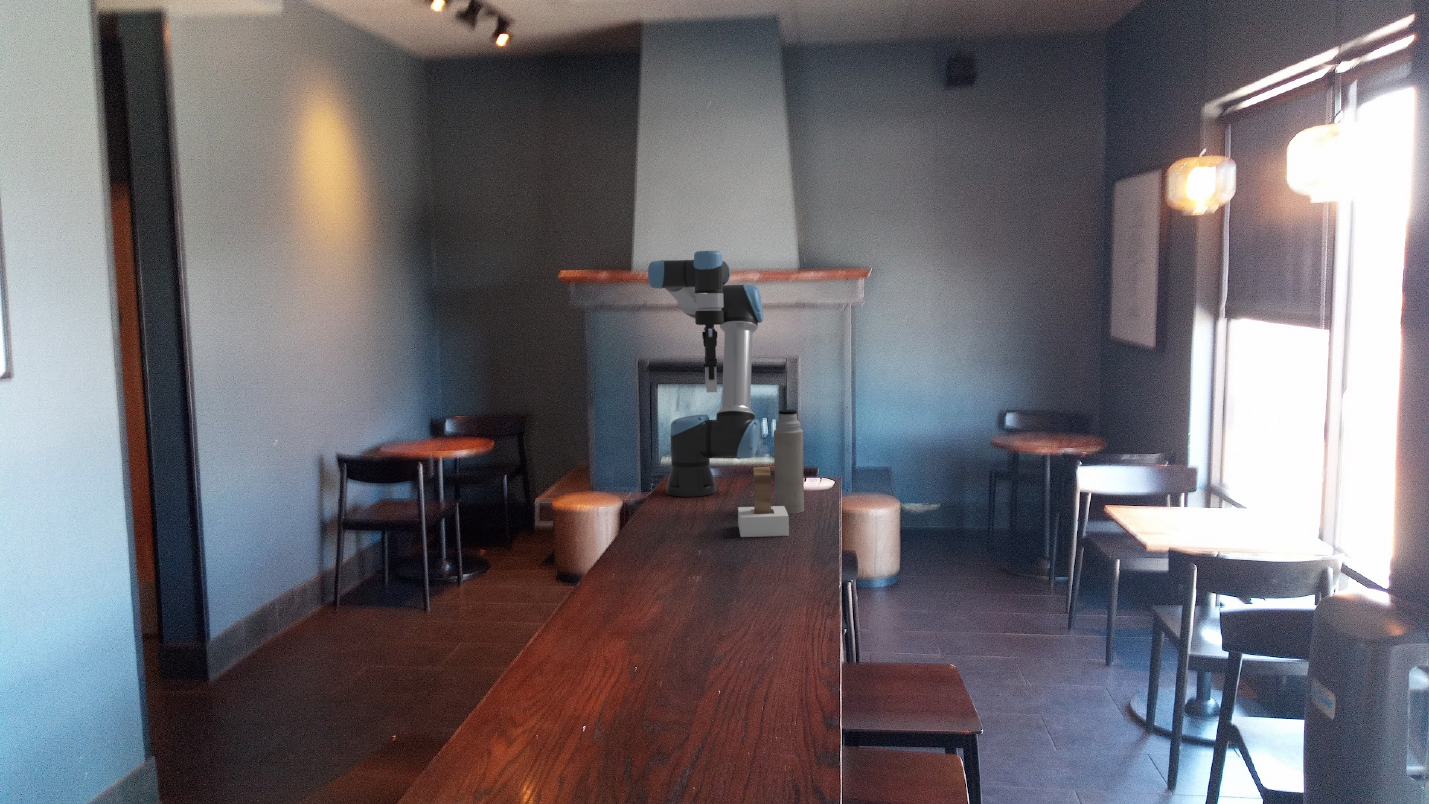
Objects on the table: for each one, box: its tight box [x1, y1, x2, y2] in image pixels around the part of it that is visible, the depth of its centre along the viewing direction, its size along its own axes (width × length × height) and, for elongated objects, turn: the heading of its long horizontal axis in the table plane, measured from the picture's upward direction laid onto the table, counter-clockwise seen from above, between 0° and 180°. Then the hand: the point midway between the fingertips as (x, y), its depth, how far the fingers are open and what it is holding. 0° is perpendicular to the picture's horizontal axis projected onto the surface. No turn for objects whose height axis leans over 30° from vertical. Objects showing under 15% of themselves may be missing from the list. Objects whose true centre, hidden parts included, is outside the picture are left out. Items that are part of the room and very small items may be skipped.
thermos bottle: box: [773, 409, 805, 515], centre depth 291 cm, size 8×8×28 cm
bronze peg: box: [752, 466, 772, 514], centre depth 268 cm, size 4×4×16 cm
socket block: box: [737, 505, 790, 538], centre depth 269 cm, size 12×12×5 cm
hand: (711, 389), depth 282 cm, fingers open, 13 cm apart
